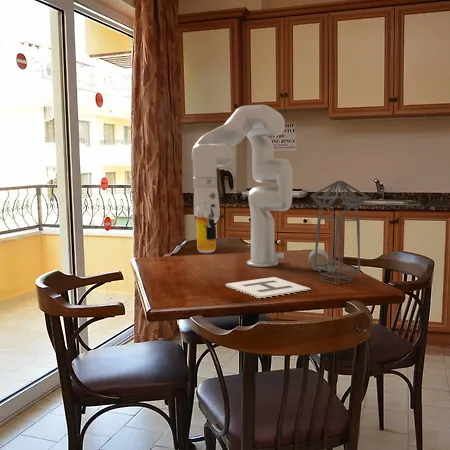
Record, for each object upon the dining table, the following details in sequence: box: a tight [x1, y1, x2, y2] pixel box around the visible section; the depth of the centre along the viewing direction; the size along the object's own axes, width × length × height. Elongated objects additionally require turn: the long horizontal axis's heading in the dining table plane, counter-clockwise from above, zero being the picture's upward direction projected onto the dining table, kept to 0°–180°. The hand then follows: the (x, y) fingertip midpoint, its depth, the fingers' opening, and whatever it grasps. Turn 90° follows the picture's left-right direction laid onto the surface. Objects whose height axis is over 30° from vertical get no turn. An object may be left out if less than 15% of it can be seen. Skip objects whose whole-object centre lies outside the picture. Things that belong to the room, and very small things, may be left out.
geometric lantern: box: [310, 180, 371, 285], centre depth 182 cm, size 16×16×35 cm
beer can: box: [196, 206, 217, 254], centre depth 172 cm, size 6×6×15 cm
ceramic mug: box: [308, 248, 337, 272], centre depth 202 cm, size 11×8×8 cm
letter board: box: [225, 276, 311, 300], centre depth 173 cm, size 20×20×1 cm
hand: (206, 237), depth 172 cm, fingers closed on beer can, 6 cm apart
